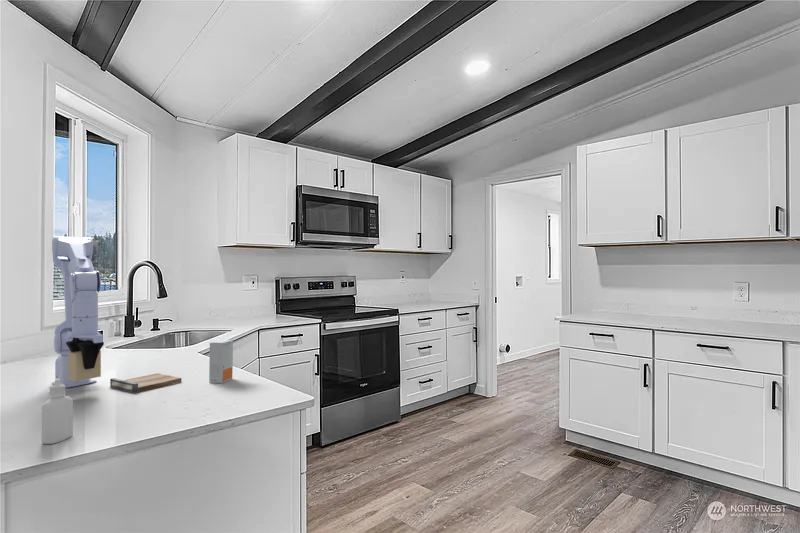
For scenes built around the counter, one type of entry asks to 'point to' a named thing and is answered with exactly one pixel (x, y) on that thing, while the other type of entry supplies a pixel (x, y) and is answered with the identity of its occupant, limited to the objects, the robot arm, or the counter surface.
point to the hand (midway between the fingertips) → (84, 367)
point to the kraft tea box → (82, 367)
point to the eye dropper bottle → (57, 415)
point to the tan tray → (144, 382)
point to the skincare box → (221, 361)
